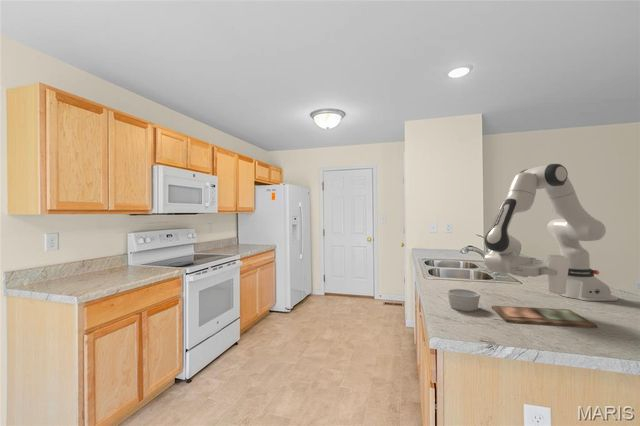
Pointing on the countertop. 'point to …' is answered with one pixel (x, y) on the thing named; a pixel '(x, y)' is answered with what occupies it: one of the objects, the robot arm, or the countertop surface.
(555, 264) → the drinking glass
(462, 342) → the countertop surface
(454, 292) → the ramekin
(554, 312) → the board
